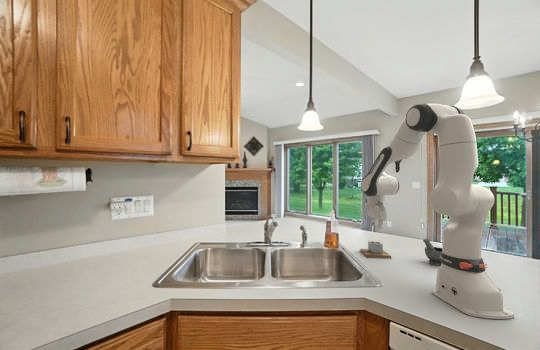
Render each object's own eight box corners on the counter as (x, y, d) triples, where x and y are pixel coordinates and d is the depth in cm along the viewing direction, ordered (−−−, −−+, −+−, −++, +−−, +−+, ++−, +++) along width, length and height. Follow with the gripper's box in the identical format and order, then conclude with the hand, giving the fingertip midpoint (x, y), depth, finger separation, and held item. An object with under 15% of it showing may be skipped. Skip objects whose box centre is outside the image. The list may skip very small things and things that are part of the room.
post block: (391, 258, 132) (391, 246, 132) (367, 257, 133) (367, 245, 133) (382, 251, 144) (382, 240, 144) (360, 250, 145) (360, 239, 145)
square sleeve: (382, 254, 136) (382, 244, 136) (371, 253, 136) (371, 244, 136) (378, 250, 141) (378, 241, 141) (368, 250, 142) (368, 241, 142)
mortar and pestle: (440, 260, 130) (441, 236, 130) (453, 267, 120) (454, 241, 120) (417, 260, 130) (418, 236, 130) (428, 266, 121) (429, 240, 121)
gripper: (390, 202, 128) (390, 230, 128) (375, 199, 148) (375, 224, 148) (376, 202, 128) (376, 230, 128) (364, 199, 149) (364, 223, 149)
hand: (376, 227), depth 138 cm, fingers open, 8 cm apart
